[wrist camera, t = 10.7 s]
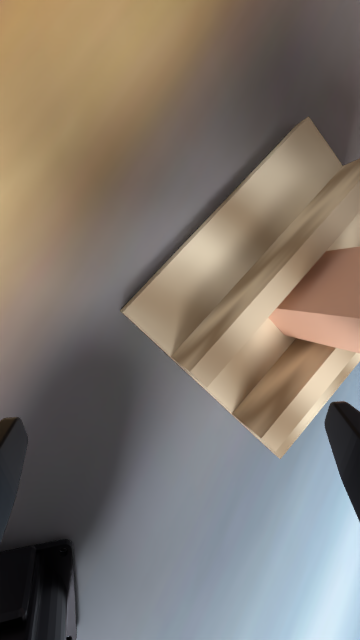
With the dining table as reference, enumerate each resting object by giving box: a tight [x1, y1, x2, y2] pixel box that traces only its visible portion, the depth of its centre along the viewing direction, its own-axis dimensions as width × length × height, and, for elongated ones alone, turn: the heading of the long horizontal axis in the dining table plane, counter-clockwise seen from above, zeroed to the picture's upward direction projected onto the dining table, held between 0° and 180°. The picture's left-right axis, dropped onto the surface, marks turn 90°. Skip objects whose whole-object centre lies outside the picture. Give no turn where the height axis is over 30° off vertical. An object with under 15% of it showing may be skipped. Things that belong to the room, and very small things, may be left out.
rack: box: [120, 116, 360, 459], centre depth 20 cm, size 16×14×5 cm
